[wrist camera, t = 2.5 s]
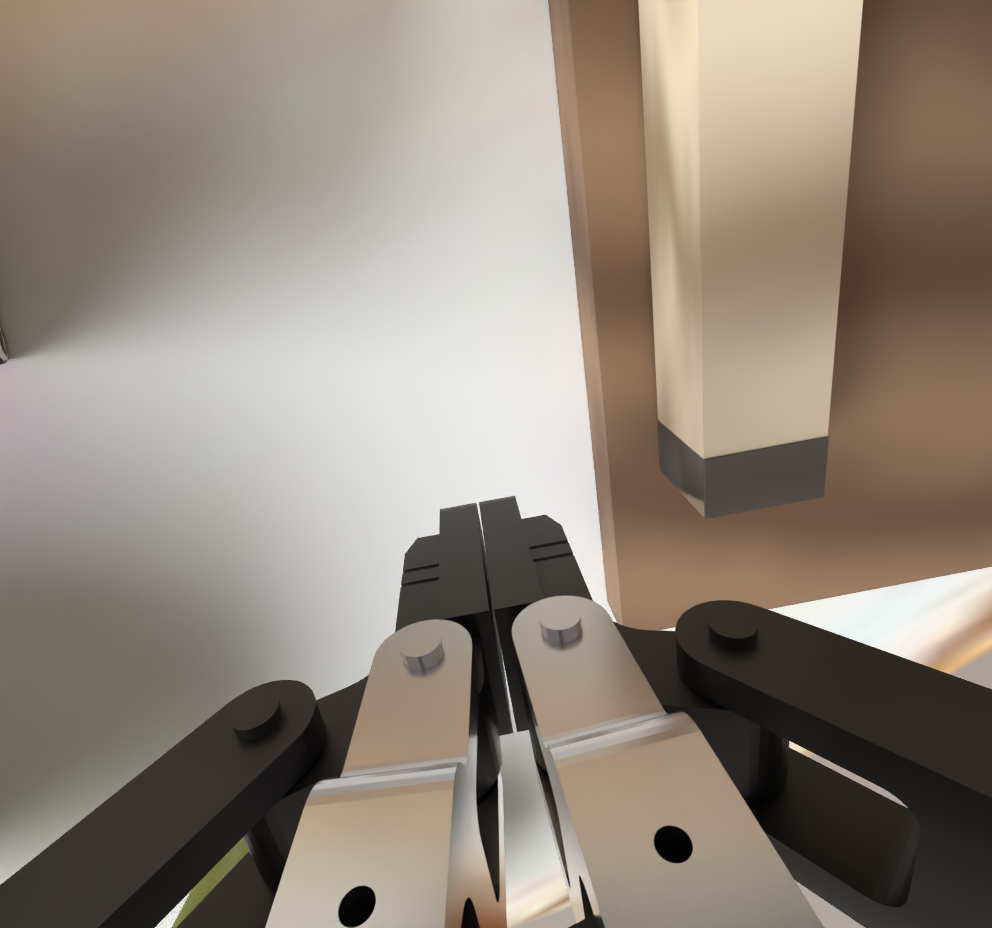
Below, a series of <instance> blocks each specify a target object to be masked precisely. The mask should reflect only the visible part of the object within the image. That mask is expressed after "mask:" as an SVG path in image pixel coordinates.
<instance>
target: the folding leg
mask: <svg viewBox="0 0 992 928" xmlns="http://www.w3.org/2000/svg"><path fill="white" fill-rule="evenodd" d="M638 4H639V25H640V46H641V67H642V89H643V110H644V131H645V153H646V174H647V195H648V217H649V238H650V259H651V280H652V302H653V323H654V344H655V366H656V387H657V408H658V419H657V421H658V442H659V463H660V471H661V472H662V473H663V474H664V475H665V476H666V477H667V478H668V479H669V480H670V481H671V483H672V484H673V485H674V486H675V487H676V488H677V489H678V490H679V491H680V492H681V493H682V494H683V496H684V497H685V498H686V499H687V500H688V501H689V502H690V503H691V504H692V505H693V506H694V507H695V509H696V510H697V511H698V512H699V513H700V514H701V515H702V516H703V517H704V518H705V519H710V518H715V517H720V516H726V515H731V514H736V513H742V512H747V511H752V510H758V509H763V508H769V507H774V506H779V505H785V504H790V503H795V502H801V501H806V500H811V499H817V498H822V497H824V492H825V480H826V468H827V456H828V443H829V437H828V426H829V414H830V401H831V389H832V377H833V365H834V352H835V340H836V328H837V315H838V303H839V291H840V278H841V266H842V254H843V242H844V229H845V217H846V205H847V192H848V180H849V168H850V155H851V143H852V131H853V119H854V106H855V94H856V82H857V69H858V57H859V45H860V32H861V20H862V8H863V0H638Z"/></svg>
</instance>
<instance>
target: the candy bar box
mask: <svg viewBox="0 0 992 928" xmlns="http://www.w3.org/2000/svg"><path fill="white" fill-rule="evenodd" d="M7 361H8V354H7V350H6V345H5V341H4V338H3V335H2V331H1V325H0V364H3V363H6V362H7Z"/></svg>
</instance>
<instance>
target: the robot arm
mask: <svg viewBox="0 0 992 928" xmlns="http://www.w3.org/2000/svg"><path fill="white" fill-rule="evenodd" d="M479 505H480V512H481V520H482V527H483V535H484V540H483V535H482V530H481V525H480V519H479V514H478V509H477V505H476V503H473V504H467V505H462V506H456V507H451V508H445V509H440V534H438V535H433V536H427V537H422V538H417V540H416V541H415V542H414V543H413V545H412V546H411V547H410V548H409V550H408V551H407V552H406V554H405V559H404V567H403V575H402V583H401V585H402V587H401V590H400V598H399V606H398V614H397V622H396V630H395V633H394V634H392V635H391V636H389V637H388V638H387V639H386V640H385V641H384V642H383V643H382V644H381V646H380V647H379V648H378V650H377V652H376V654H375V656H374V659H373V662H372V666H371V670H370V673H369V675H368V676H367V677H365V678H364V679H362V680H360V681H359V682H357V683H355V684H353V685H351V686H349V687H347V688H344V689H342V690H340V691H337V692H335V693H333V694H330V695H328V696H326V697H323V698H321V699H319V700H317V701H316V699H315V696H314V694H313V691H312V690H311V689H310V688H309V687H308V686H307V685H305V684H304V683H301V682H298V681H293V680H280V681H273V682H269V683H265V684H262V685H260V686H257V687H255V688H252V689H250V690H248V691H246V692H244V693H243V694H241V695H239V696H238V697H236V698H235V699H233V700H232V701H231V702H229V703H228V704H227V705H225V706H224V707H223V708H222V709H220V710H219V711H218V712H217V713H215V714H214V715H213V716H212V717H210V718H209V719H208V720H207V721H205V722H204V723H203V724H202V725H200V726H199V727H198V728H197V729H195V730H194V731H193V732H192V733H190V734H189V735H188V736H187V737H185V738H184V739H183V740H182V741H180V742H179V743H178V744H177V745H175V746H174V747H173V748H172V749H170V750H169V751H168V752H167V753H165V754H164V755H163V756H162V757H160V758H159V759H158V760H157V761H155V762H154V763H153V764H152V765H150V766H149V767H148V768H147V769H145V770H144V771H143V772H142V773H140V774H139V775H138V776H136V777H135V778H134V779H133V780H131V781H130V782H129V783H128V784H126V785H125V786H124V787H123V788H121V789H120V790H119V791H118V792H116V793H115V794H114V795H113V796H111V797H110V798H109V799H108V800H106V801H105V802H104V803H103V804H101V805H100V806H99V807H98V808H96V809H95V810H94V811H93V812H91V813H90V814H89V815H88V816H86V817H85V818H84V819H83V820H81V821H80V822H79V823H78V824H76V825H75V826H74V827H73V828H71V829H70V830H69V831H68V832H66V833H65V834H64V835H63V836H61V837H60V838H59V839H58V840H56V841H55V842H54V843H53V844H51V845H50V846H49V847H48V848H46V849H45V850H44V851H43V852H41V853H40V854H39V855H38V856H36V857H35V858H34V859H33V860H31V861H30V862H29V863H27V864H26V865H25V866H24V867H22V868H21V869H20V870H19V871H17V872H16V873H15V874H14V875H12V876H11V877H10V878H9V879H7V880H6V881H5V882H4V883H2V884H1V885H0V928H155V927H156V926H157V925H158V924H159V923H160V921H161V920H162V919H163V918H164V917H165V916H166V915H167V914H168V913H169V912H170V911H171V910H172V909H173V908H174V907H175V906H176V905H177V904H178V903H179V902H180V901H181V900H182V899H183V898H184V897H185V896H186V895H187V894H188V893H189V892H190V891H191V890H192V889H193V888H194V887H195V886H196V885H197V884H198V883H199V882H200V881H201V880H202V879H203V878H204V877H205V876H206V875H207V874H208V872H209V871H210V870H211V869H212V868H213V867H214V866H215V865H216V864H217V863H218V862H219V861H220V860H221V859H222V858H223V857H224V856H225V855H226V854H227V853H228V852H229V851H230V850H231V849H232V848H233V847H234V846H235V845H236V844H237V843H238V842H239V841H240V840H241V839H242V838H243V840H244V842H245V844H246V846H247V848H248V850H249V852H248V853H247V854H246V855H245V856H244V857H243V858H242V859H241V860H240V861H239V862H238V863H237V864H236V865H235V866H234V867H233V868H232V869H231V871H230V872H229V873H228V874H227V875H226V876H225V877H224V878H223V879H222V880H221V881H220V882H219V883H218V884H217V885H216V886H215V887H214V888H213V889H212V890H211V892H210V893H209V894H208V895H207V896H206V897H205V898H204V899H203V900H202V901H201V902H200V903H199V904H198V905H197V906H196V907H195V908H194V909H193V910H192V912H191V913H190V914H189V915H188V916H187V917H186V918H185V919H184V920H183V921H182V922H181V923H180V924H179V925H178V926H177V927H176V928H507V919H506V888H505V849H504V811H503V783H502V777H501V772H500V769H501V748H500V739H499V736H500V735H505V734H510V733H513V729H512V722H511V715H510V707H509V700H508V693H507V686H506V679H505V672H504V666H505V671H506V676H507V681H508V686H509V691H510V697H511V702H512V707H513V712H514V717H515V723H516V728H517V732H519V731H525V730H529V732H530V737H531V743H532V748H533V753H534V759H535V764H536V770H537V775H538V780H539V784H540V788H541V792H542V795H543V799H544V803H545V807H546V811H547V814H548V818H549V822H550V826H551V830H552V833H553V837H554V841H555V845H556V849H557V852H558V856H559V860H560V864H561V868H562V871H563V875H564V879H565V883H566V887H567V890H568V894H569V898H570V902H571V906H572V910H573V914H574V918H575V922H576V924H574V925H572V926H571V927H569V928H824V926H823V925H822V923H821V921H820V920H819V918H818V917H817V915H816V913H815V912H814V910H813V909H812V907H811V905H810V904H809V902H808V901H807V899H806V898H805V896H804V895H803V893H802V891H801V890H800V888H799V886H798V885H797V883H796V882H795V880H796V881H797V882H799V883H800V884H802V885H803V886H805V887H806V888H808V889H809V890H810V891H812V892H813V893H815V894H817V895H818V896H819V897H821V898H822V899H824V900H825V901H827V902H828V903H830V904H831V905H833V906H834V907H836V908H837V909H839V910H840V911H842V912H843V913H845V914H846V915H848V916H849V917H851V918H852V919H853V920H855V921H856V922H858V923H860V924H861V925H862V926H864V927H865V928H992V689H989V688H986V687H983V686H980V685H978V684H975V683H972V682H969V681H967V680H964V679H961V678H958V677H955V676H953V675H950V674H947V673H944V672H941V671H939V670H936V669H933V668H930V667H927V666H925V665H922V664H919V663H916V662H913V661H910V660H908V659H905V658H902V657H899V656H896V655H894V654H891V653H888V652H885V651H882V650H880V649H877V648H874V647H871V646H868V645H866V644H863V643H860V642H857V641H854V640H852V639H849V638H846V637H843V636H840V635H838V634H835V633H832V632H829V631H826V630H824V629H821V628H818V627H815V626H812V625H809V624H807V623H804V622H801V621H798V620H795V619H793V618H790V617H787V616H784V615H781V614H779V613H776V612H773V611H770V610H767V609H765V608H762V607H759V606H756V605H753V604H749V603H745V602H740V601H732V600H717V601H709V602H704V603H701V604H698V605H695V606H693V607H691V608H690V609H688V610H687V611H685V612H684V613H683V614H682V615H681V616H680V618H679V619H678V621H677V624H676V629H675V631H656V630H642V629H635V628H630V627H627V626H623V625H620V624H618V623H616V622H613V621H612V619H611V617H610V616H609V614H608V613H607V611H606V610H605V609H604V608H603V607H602V606H600V605H599V604H597V603H596V602H594V601H593V600H592V598H591V595H590V593H589V590H588V588H587V586H586V583H585V581H584V579H583V576H582V574H581V571H580V569H579V567H578V564H577V562H576V559H575V557H574V555H573V552H572V550H571V547H570V545H569V543H568V541H567V538H566V536H565V533H564V531H563V528H562V526H561V525H560V524H558V523H557V522H556V521H554V520H553V519H551V518H550V517H548V516H547V515H542V516H536V517H531V518H525V519H521V516H520V512H519V509H518V505H517V502H516V498H515V496H511V497H505V498H500V499H494V500H489V501H483V502H479ZM484 542H485V546H484ZM485 549H486V551H485ZM501 650H502V651H501ZM502 655H503V658H502ZM503 660H504V665H503ZM789 741H791V742H793V743H795V744H797V745H799V746H801V747H803V748H805V749H807V750H809V751H811V752H813V753H815V754H817V755H819V756H821V757H823V758H825V759H827V760H829V761H831V762H832V763H834V764H836V765H838V766H840V767H842V768H844V769H846V770H848V771H850V772H852V773H854V774H856V775H858V776H860V777H862V778H864V779H866V780H868V781H870V782H872V783H874V784H876V785H878V786H880V787H882V788H883V789H885V790H887V791H888V792H890V793H891V794H893V795H894V796H896V797H897V798H898V799H899V800H901V801H902V802H903V803H904V804H905V805H906V806H907V807H908V808H906V807H904V806H902V805H900V804H898V803H896V802H894V801H892V800H890V799H888V798H886V797H884V796H882V795H880V794H878V793H876V792H874V791H872V790H871V789H869V788H867V787H865V786H863V785H861V784H859V783H857V782H855V781H853V780H851V779H849V778H847V777H845V776H843V775H842V774H840V773H838V772H836V771H834V770H832V769H830V768H828V767H826V766H824V765H822V764H820V763H818V762H816V761H814V760H812V759H811V758H809V757H807V756H805V755H803V754H801V753H799V752H797V751H795V750H793V749H791V748H789Z"/></svg>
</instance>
